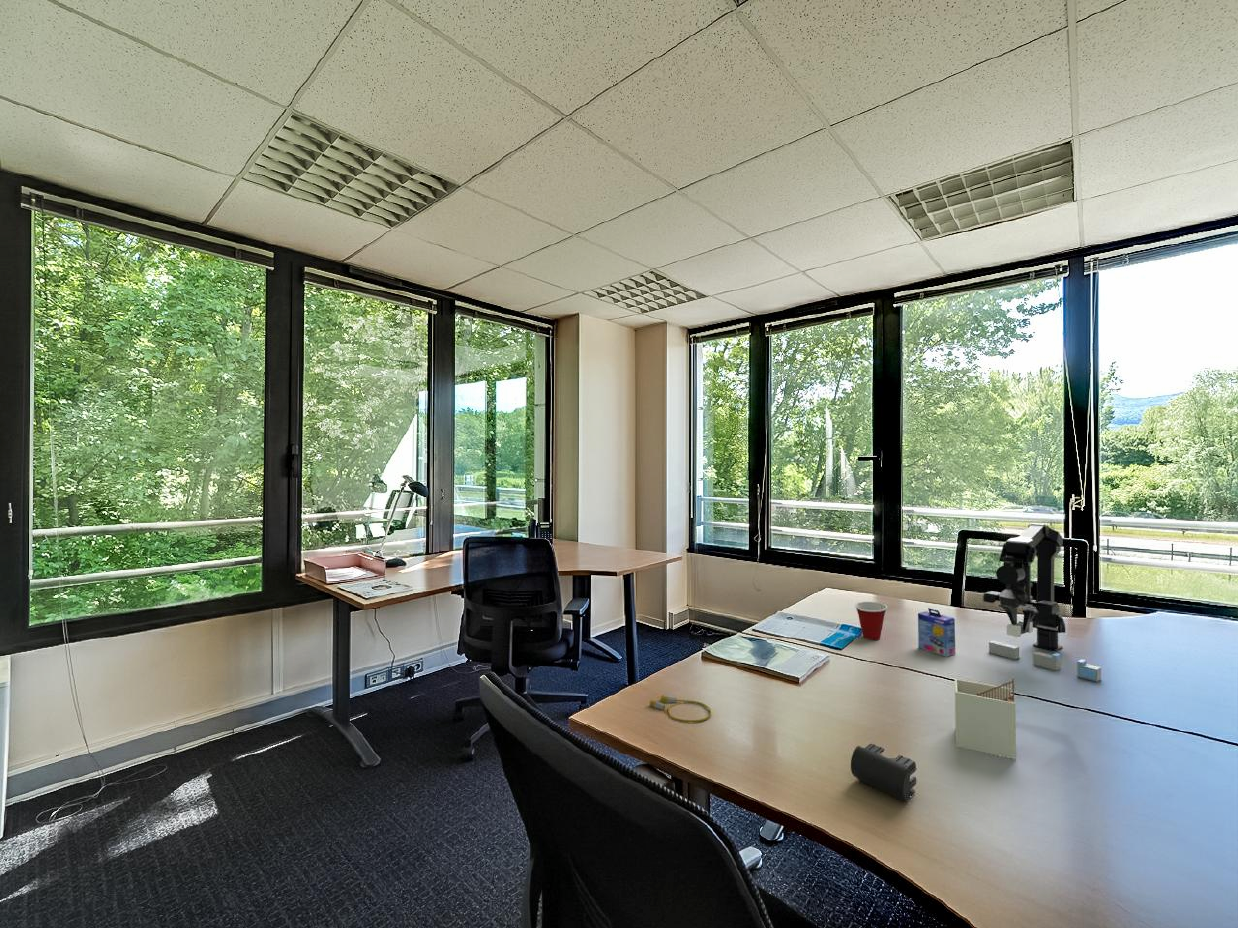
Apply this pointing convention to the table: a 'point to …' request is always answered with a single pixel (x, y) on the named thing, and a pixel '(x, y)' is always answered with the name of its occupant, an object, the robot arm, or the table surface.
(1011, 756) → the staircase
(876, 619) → the plastic cup
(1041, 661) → the grey block row
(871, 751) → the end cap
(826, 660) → the table surface
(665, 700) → the extension cord
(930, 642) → the ink cartridge box
